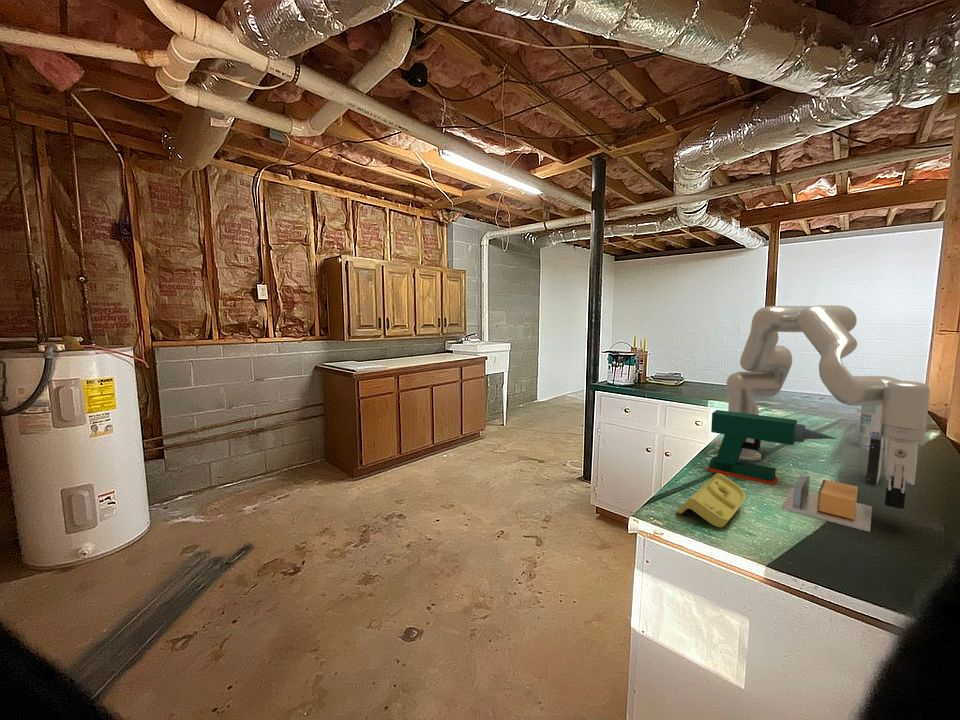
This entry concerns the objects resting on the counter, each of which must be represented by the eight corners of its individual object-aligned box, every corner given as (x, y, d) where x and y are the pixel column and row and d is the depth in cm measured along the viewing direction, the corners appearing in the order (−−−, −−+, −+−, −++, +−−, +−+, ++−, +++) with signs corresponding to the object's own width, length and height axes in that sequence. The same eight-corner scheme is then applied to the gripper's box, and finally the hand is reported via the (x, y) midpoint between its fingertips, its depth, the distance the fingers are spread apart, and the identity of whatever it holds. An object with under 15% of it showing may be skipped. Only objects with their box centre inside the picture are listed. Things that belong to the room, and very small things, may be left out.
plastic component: (726, 522, 96) (686, 493, 102) (711, 543, 99) (673, 514, 105) (750, 493, 109) (714, 469, 115) (736, 512, 112) (701, 488, 118)
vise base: (781, 509, 108) (783, 487, 108) (791, 491, 119) (793, 471, 119) (870, 532, 96) (872, 507, 96) (871, 510, 108) (873, 487, 107)
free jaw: (816, 510, 105) (818, 492, 104) (822, 496, 113) (823, 479, 113) (853, 519, 100) (855, 500, 99) (856, 503, 108) (857, 486, 108)
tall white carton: (885, 450, 157) (890, 399, 155) (868, 450, 157) (873, 399, 155) (869, 445, 164) (874, 396, 162) (853, 445, 164) (857, 396, 162)
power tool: (834, 491, 120) (839, 425, 118) (832, 498, 115) (838, 429, 113) (712, 465, 141) (715, 409, 140) (707, 471, 136) (710, 412, 134)
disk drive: (878, 486, 123) (882, 439, 122) (865, 484, 125) (869, 437, 124) (880, 477, 130) (884, 432, 129) (868, 475, 132) (872, 430, 131)
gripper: (927, 442, 89) (918, 522, 91) (922, 429, 100) (915, 501, 101) (879, 436, 94) (871, 511, 96) (880, 424, 105) (873, 492, 107)
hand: (894, 506), depth 99 cm, fingers closed
